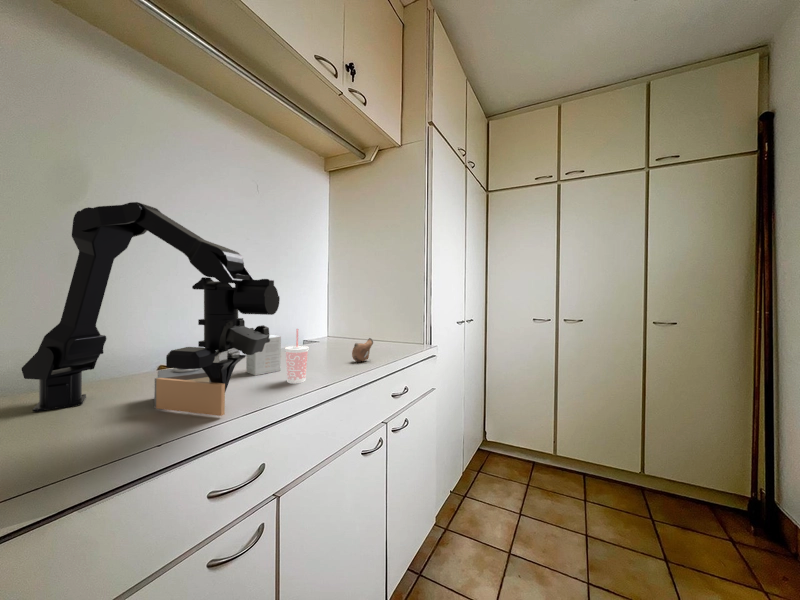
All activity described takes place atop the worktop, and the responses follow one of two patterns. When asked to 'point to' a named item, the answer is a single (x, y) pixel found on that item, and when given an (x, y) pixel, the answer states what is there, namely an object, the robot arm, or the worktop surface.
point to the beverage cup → (296, 362)
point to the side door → (190, 396)
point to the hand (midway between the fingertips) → (221, 393)
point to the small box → (265, 358)
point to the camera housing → (184, 374)
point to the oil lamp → (362, 350)
